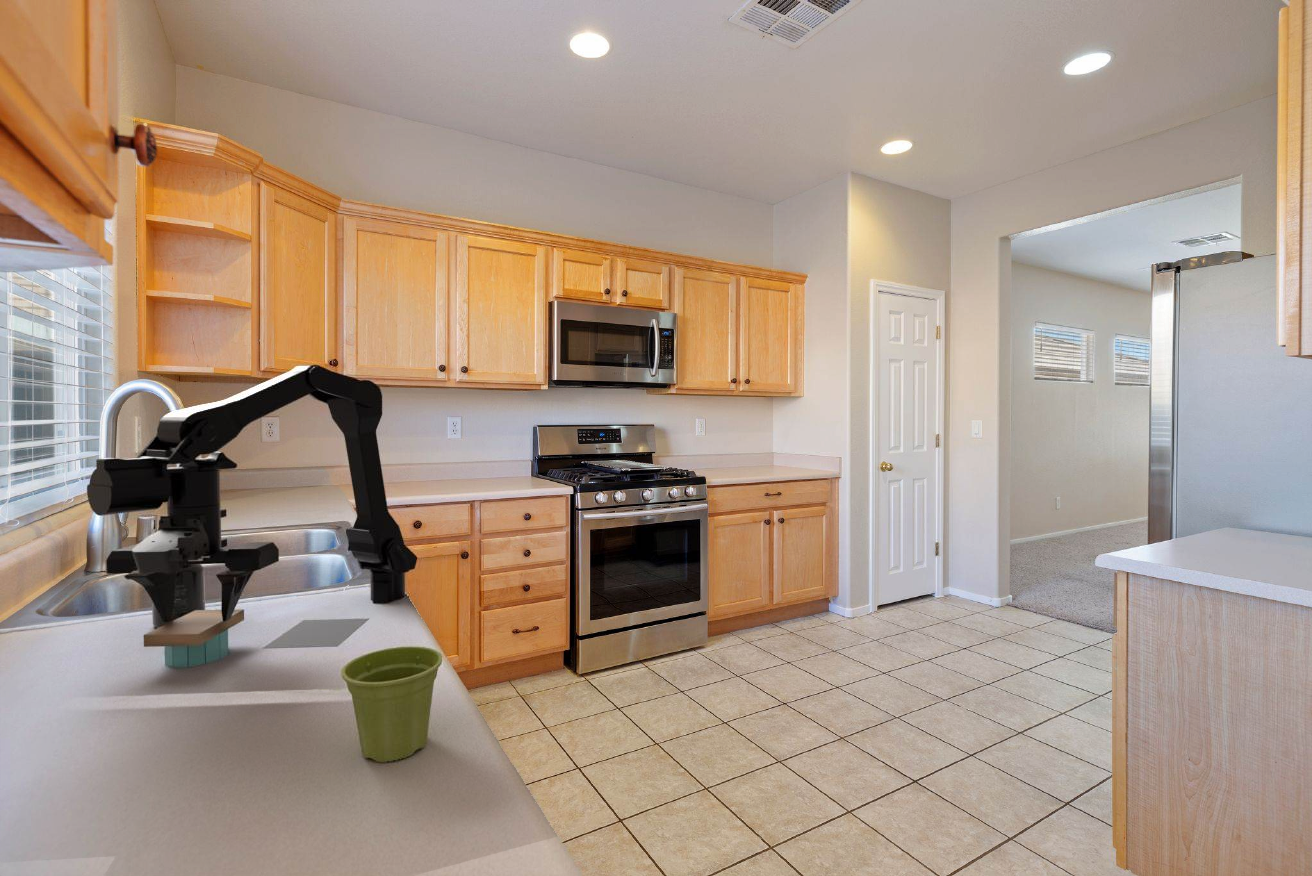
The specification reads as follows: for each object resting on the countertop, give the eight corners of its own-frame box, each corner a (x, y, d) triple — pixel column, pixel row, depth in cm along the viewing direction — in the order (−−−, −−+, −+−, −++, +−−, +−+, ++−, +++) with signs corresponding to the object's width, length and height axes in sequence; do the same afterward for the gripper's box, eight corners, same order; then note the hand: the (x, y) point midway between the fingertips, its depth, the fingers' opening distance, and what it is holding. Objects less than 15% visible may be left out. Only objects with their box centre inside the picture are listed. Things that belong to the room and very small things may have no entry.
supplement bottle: (216, 616, 104) (214, 545, 104) (181, 630, 97) (179, 554, 97) (178, 615, 105) (176, 544, 104) (140, 629, 98) (138, 553, 98)
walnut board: (195, 620, 88) (195, 610, 88) (244, 619, 89) (244, 609, 89) (143, 646, 78) (143, 634, 78) (198, 645, 79) (198, 634, 79)
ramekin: (187, 656, 87) (186, 624, 87) (239, 655, 88) (238, 623, 87) (152, 676, 80) (151, 642, 80) (208, 674, 81) (208, 640, 81)
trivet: (303, 627, 99) (303, 620, 99) (369, 625, 100) (369, 618, 100) (262, 656, 87) (262, 648, 87) (337, 654, 88) (337, 646, 88)
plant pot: (339, 783, 57) (338, 689, 57) (345, 735, 66) (344, 653, 65) (447, 760, 61) (446, 672, 61) (439, 718, 69) (438, 640, 69)
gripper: (67, 515, 74) (71, 645, 75) (232, 513, 76) (235, 640, 76) (136, 502, 85) (139, 615, 86) (279, 501, 87) (282, 612, 88)
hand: (197, 621), depth 84 cm, fingers open, 7 cm apart
